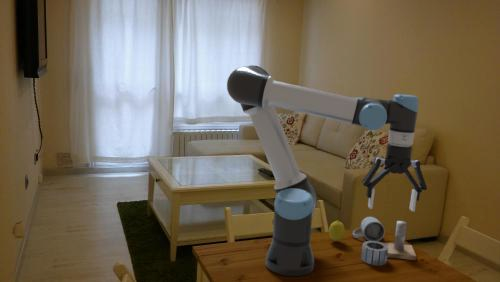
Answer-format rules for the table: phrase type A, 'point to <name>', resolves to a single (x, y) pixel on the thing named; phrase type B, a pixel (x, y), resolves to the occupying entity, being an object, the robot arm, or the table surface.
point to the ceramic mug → (370, 229)
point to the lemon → (336, 231)
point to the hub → (374, 253)
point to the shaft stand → (400, 244)
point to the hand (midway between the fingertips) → (390, 208)
